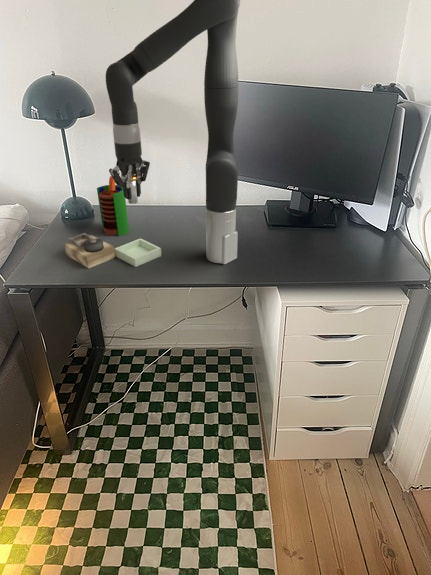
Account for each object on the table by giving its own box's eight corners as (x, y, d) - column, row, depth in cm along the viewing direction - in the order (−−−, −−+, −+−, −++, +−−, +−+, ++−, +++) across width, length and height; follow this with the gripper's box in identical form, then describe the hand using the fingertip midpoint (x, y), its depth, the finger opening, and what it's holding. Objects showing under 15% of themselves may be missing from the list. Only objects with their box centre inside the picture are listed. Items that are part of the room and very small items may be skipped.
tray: (161, 255, 148) (160, 248, 147) (135, 267, 142) (134, 259, 140) (141, 245, 154) (140, 238, 153) (115, 256, 148) (114, 248, 146)
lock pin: (141, 202, 138) (138, 176, 134) (132, 205, 136) (129, 179, 132) (134, 199, 140) (131, 174, 136) (125, 202, 138) (122, 176, 134)
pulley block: (115, 257, 147) (112, 238, 143) (88, 268, 141) (85, 248, 137) (91, 245, 155) (88, 226, 151) (65, 254, 149) (61, 235, 145)
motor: (97, 232, 164) (89, 178, 153) (112, 223, 171) (106, 171, 160) (119, 237, 160) (112, 182, 149) (134, 228, 167) (129, 175, 156)
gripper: (114, 146, 122) (121, 206, 131) (154, 137, 131) (158, 194, 140) (98, 141, 126) (106, 200, 135) (138, 133, 135) (143, 189, 144)
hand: (132, 197), depth 137 cm, fingers closed on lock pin, 2 cm apart
